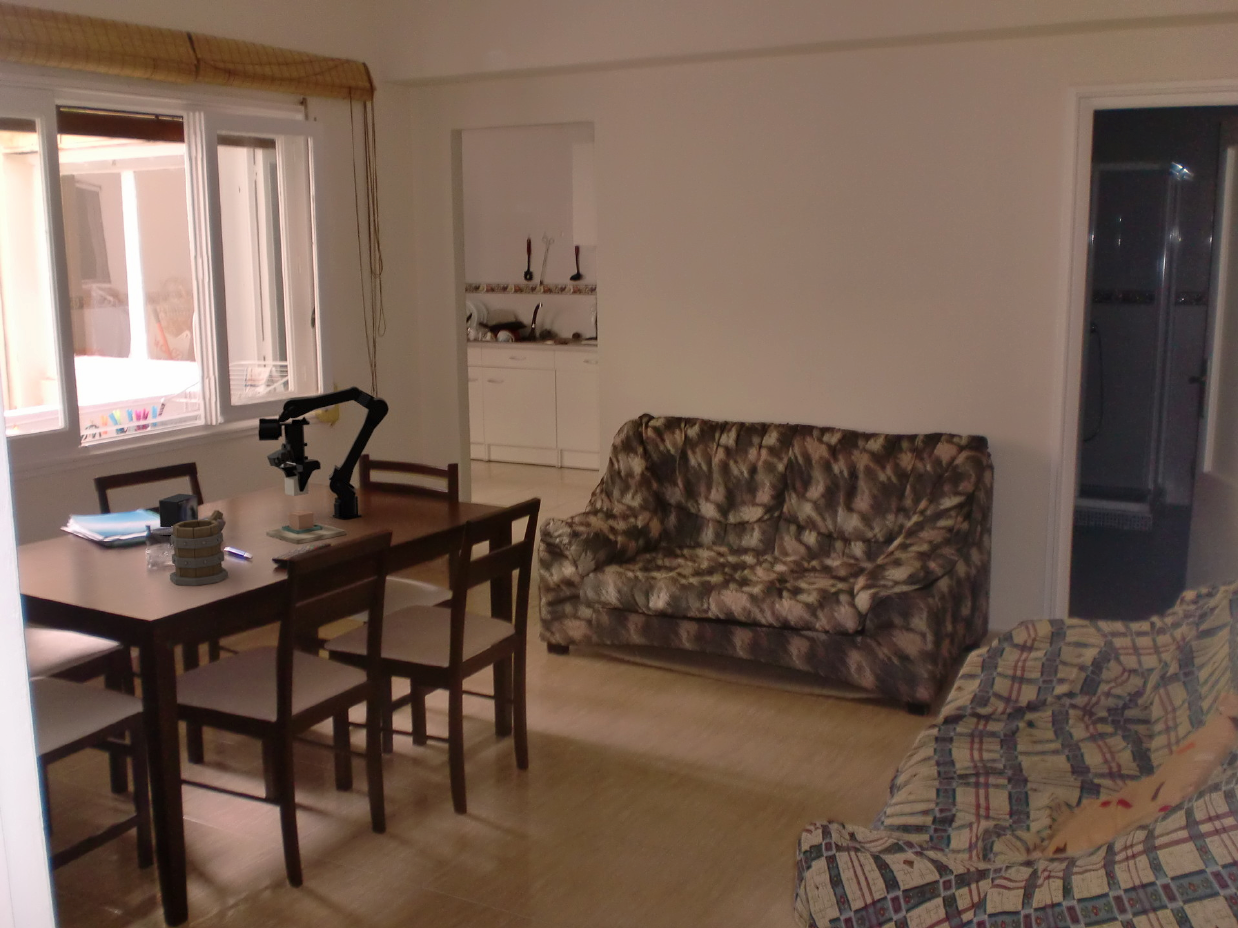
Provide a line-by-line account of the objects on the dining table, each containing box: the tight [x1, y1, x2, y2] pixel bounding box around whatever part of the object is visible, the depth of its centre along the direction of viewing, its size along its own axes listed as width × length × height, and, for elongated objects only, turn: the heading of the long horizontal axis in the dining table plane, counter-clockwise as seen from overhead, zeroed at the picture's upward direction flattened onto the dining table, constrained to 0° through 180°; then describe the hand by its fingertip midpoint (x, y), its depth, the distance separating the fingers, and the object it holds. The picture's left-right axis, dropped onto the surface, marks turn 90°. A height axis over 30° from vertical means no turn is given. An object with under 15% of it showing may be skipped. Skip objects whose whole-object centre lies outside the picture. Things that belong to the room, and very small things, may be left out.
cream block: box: [284, 476, 310, 497], centre depth 351 cm, size 5×5×5 cm
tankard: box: [169, 509, 229, 587], centre depth 288 cm, size 20×13×15 cm, turn 171°
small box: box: [158, 493, 199, 528], centre depth 335 cm, size 11×6×10 cm, turn 168°
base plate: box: [265, 521, 347, 545], centre depth 332 cm, size 16×16×2 cm
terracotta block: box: [288, 510, 315, 530], centre depth 333 cm, size 5×5×5 cm
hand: (296, 490), depth 351 cm, fingers closed on cream block, 5 cm apart
